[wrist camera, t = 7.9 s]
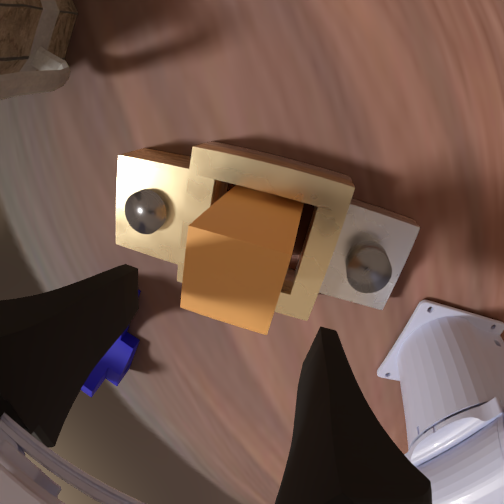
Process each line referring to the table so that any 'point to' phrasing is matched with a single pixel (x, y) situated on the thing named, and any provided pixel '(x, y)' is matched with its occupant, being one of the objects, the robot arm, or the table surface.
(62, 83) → the mug
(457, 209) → the table surface
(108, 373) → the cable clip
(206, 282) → the orange rectangular peg
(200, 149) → the square frame connector
